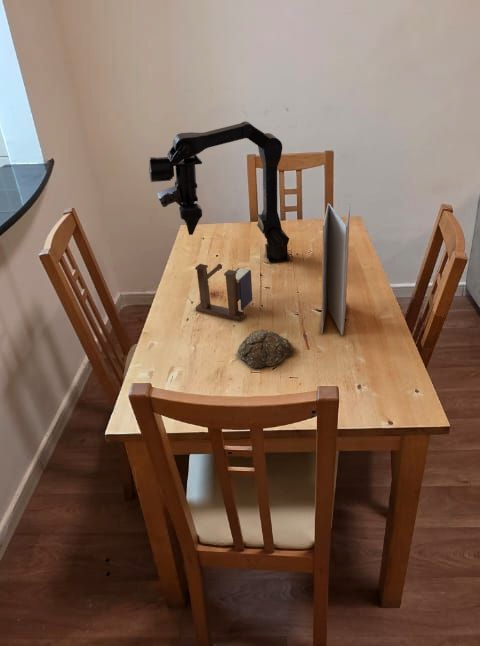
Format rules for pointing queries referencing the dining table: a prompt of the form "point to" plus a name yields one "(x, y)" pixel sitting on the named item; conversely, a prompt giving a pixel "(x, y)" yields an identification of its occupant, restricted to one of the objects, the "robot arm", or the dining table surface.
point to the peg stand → (231, 285)
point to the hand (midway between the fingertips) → (188, 228)
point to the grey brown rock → (264, 349)
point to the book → (244, 286)
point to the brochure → (334, 266)
